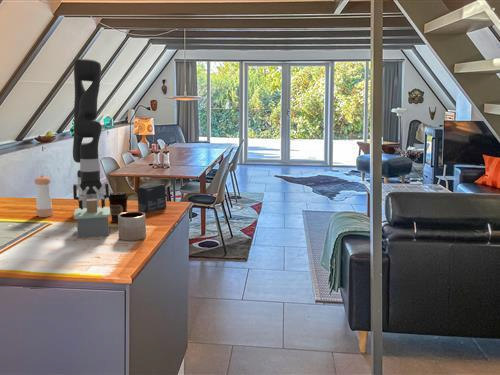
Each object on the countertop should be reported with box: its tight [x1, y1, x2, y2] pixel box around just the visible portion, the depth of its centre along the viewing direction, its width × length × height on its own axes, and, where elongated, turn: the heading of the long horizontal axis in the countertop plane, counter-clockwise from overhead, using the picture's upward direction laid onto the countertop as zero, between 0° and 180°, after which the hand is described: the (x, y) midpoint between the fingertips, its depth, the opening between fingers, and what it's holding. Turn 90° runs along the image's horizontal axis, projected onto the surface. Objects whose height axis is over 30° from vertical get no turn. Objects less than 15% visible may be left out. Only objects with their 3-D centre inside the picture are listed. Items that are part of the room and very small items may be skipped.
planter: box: [117, 211, 147, 242], centre depth 204 cm, size 11×11×10 cm
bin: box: [76, 217, 110, 239], centre depth 211 cm, size 12×12×8 cm
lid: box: [73, 198, 111, 220], centre depth 209 cm, size 14×14×7 cm
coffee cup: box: [108, 191, 129, 223], centre depth 228 cm, size 9×8×13 cm
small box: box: [136, 182, 167, 213], centre depth 252 cm, size 13×7×12 cm, turn 144°
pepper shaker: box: [33, 174, 54, 218], centre depth 237 cm, size 7×7×19 cm
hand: (92, 208), depth 210 cm, fingers open, 7 cm apart
